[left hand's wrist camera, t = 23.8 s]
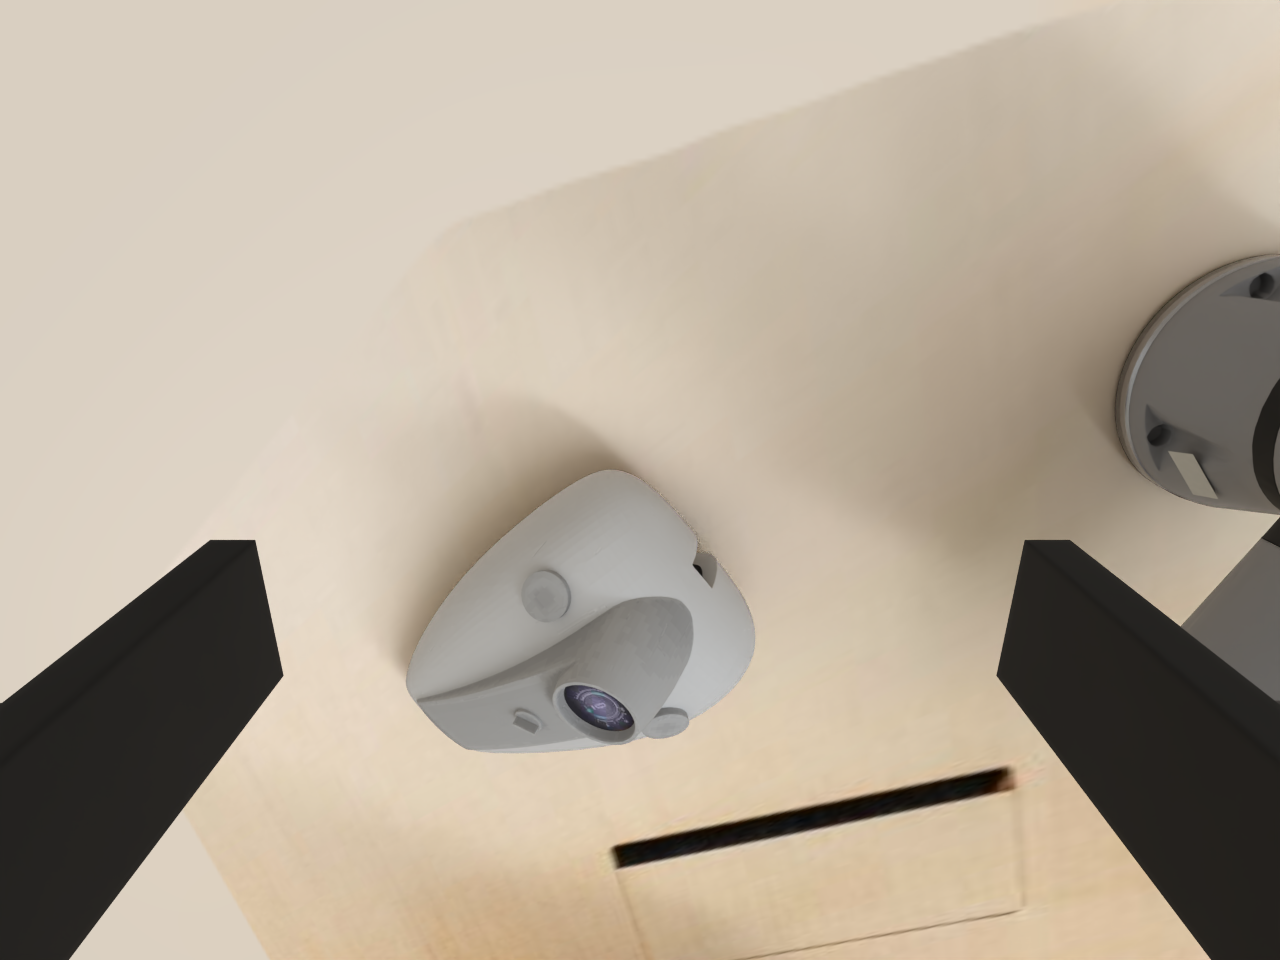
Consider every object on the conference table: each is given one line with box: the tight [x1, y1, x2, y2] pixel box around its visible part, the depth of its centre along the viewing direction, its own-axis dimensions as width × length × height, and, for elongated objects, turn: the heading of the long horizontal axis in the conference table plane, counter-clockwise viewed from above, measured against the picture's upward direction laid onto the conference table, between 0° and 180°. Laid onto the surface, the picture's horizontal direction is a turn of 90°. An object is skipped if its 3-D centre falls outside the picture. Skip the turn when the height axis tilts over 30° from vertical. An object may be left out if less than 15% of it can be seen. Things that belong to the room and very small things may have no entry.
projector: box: [406, 470, 755, 753], centre depth 43 cm, size 22×23×15 cm
